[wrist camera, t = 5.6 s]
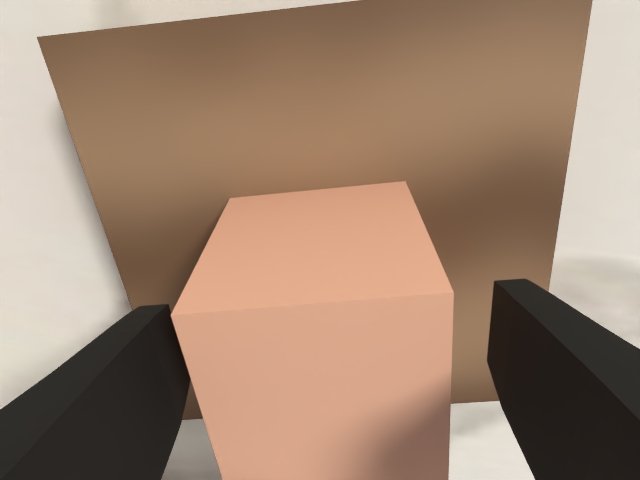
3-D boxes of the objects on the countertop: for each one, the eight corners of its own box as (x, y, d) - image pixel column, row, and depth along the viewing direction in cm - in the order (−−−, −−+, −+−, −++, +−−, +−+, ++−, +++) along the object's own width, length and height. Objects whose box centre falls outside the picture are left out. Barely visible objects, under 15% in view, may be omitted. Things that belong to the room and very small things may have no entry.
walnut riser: (496, 330, 18) (532, 398, 15) (197, 351, 19) (171, 420, 16) (529, -19, 13) (596, -27, 9) (105, 29, 13) (36, 36, 10)
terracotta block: (408, 324, 14) (448, 480, 9) (259, 335, 14) (226, 492, 9) (405, 181, 12) (453, 292, 7) (230, 198, 12) (170, 315, 7)
